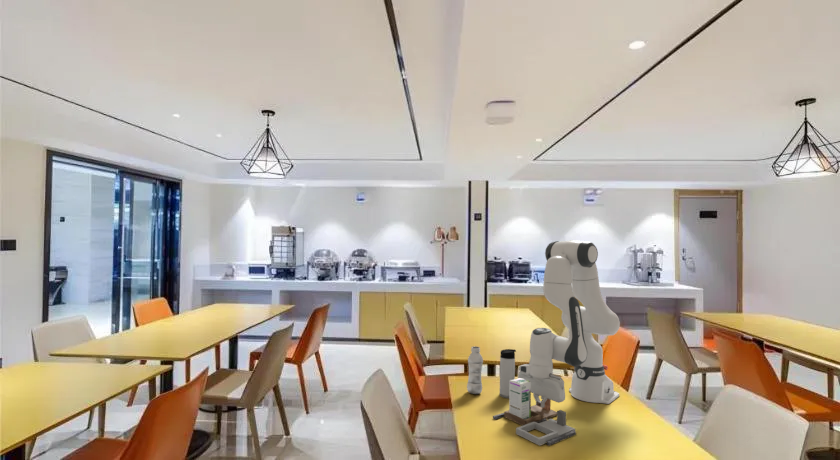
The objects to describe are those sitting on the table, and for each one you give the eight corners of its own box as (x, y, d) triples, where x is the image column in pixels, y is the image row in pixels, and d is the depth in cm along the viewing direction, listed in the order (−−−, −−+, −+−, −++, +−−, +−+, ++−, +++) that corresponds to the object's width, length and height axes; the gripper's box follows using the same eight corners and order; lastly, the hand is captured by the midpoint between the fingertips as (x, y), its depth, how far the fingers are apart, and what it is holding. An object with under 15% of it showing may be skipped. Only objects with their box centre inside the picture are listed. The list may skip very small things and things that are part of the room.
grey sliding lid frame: (551, 420, 153) (551, 406, 154) (575, 431, 145) (575, 415, 145) (515, 433, 142) (516, 418, 142) (539, 445, 134) (540, 429, 134)
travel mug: (515, 399, 175) (516, 351, 176) (499, 397, 176) (500, 350, 177) (514, 394, 181) (515, 348, 182) (499, 392, 182) (500, 347, 183)
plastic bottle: (466, 390, 184) (468, 345, 185) (482, 391, 184) (483, 346, 184) (466, 395, 178) (467, 348, 179) (482, 396, 177) (483, 349, 178)
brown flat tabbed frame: (537, 406, 167) (537, 393, 168) (558, 414, 159) (558, 400, 159) (504, 416, 156) (504, 402, 156) (525, 426, 148) (525, 411, 148)
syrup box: (520, 424, 150) (521, 383, 151) (508, 418, 155) (509, 379, 156) (530, 420, 154) (531, 381, 154) (518, 415, 158) (519, 377, 159)
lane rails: (519, 410, 163) (519, 407, 163) (575, 434, 143) (575, 431, 143) (492, 418, 154) (492, 416, 154) (549, 445, 134) (549, 442, 134)
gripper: (569, 376, 155) (568, 413, 154) (525, 363, 171) (524, 396, 171) (558, 379, 151) (558, 417, 150) (515, 365, 167) (514, 399, 167)
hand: (540, 406), depth 161 cm, fingers closed
